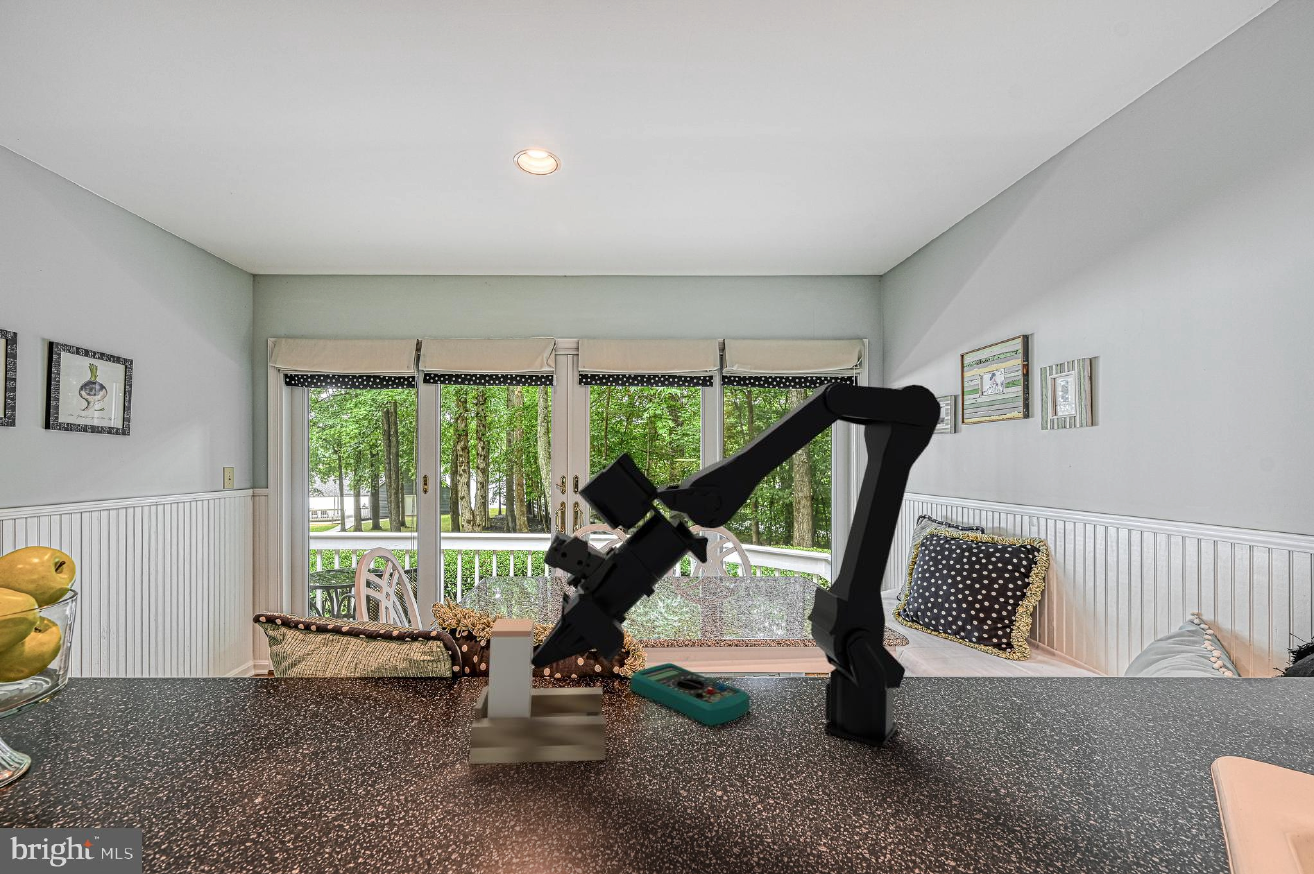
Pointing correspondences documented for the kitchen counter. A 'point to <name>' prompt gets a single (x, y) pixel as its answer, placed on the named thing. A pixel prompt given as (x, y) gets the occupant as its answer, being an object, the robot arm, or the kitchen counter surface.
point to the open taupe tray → (542, 729)
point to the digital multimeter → (691, 693)
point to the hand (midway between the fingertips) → (533, 664)
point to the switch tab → (511, 668)
